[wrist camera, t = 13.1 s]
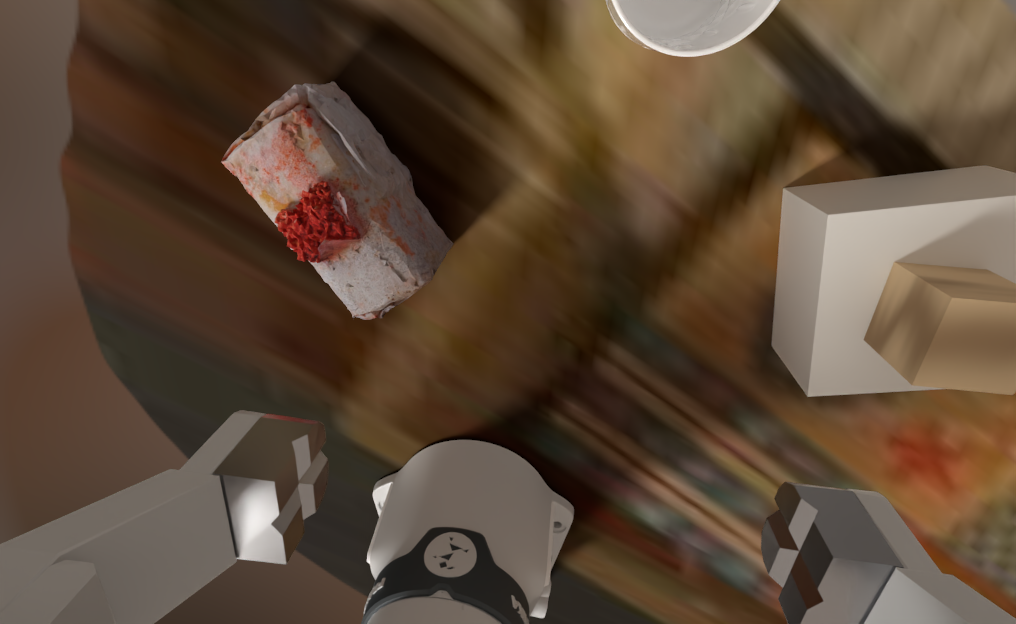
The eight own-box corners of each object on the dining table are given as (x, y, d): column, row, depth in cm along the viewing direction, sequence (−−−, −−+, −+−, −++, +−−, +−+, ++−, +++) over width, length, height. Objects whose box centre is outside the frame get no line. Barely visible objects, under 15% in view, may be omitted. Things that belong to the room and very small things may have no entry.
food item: (268, 142, 37) (175, 168, 29) (348, 69, 35) (273, 73, 26) (393, 290, 41) (347, 353, 33) (474, 235, 39) (446, 287, 30)
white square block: (944, 331, 39) (1018, 384, 32) (770, 344, 40) (807, 396, 34) (982, 164, 34) (1078, 188, 27) (781, 187, 35) (827, 214, 29)
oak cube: (950, 347, 32) (1013, 395, 27) (863, 339, 32) (911, 385, 28) (987, 269, 30) (1062, 307, 25) (894, 261, 30) (951, 297, 25)
